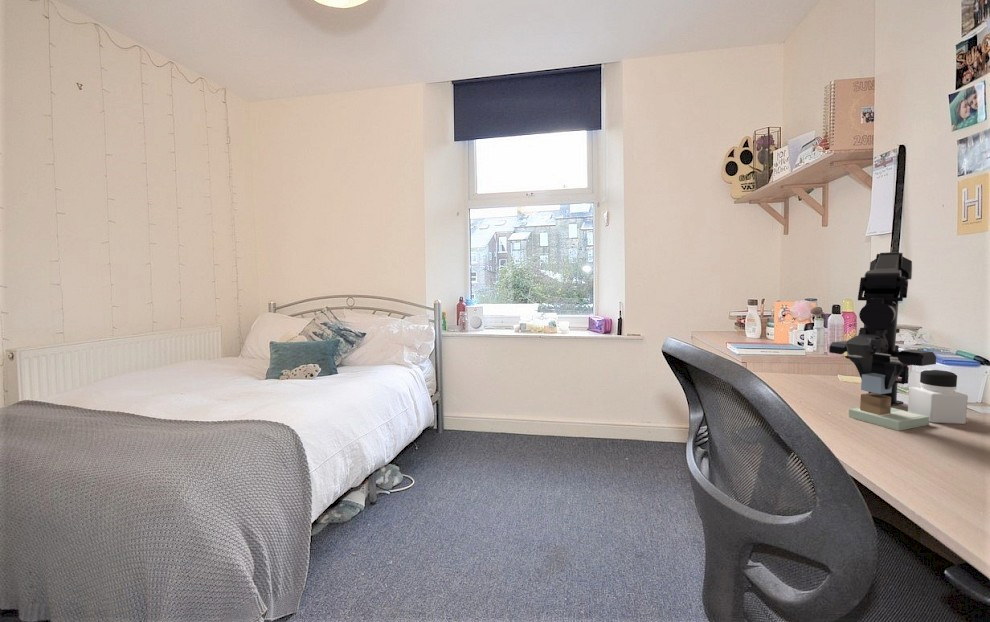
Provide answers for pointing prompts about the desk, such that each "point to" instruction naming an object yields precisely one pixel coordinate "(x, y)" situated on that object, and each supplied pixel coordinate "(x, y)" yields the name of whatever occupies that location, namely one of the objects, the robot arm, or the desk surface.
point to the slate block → (874, 383)
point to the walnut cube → (875, 403)
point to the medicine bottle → (938, 398)
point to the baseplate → (891, 418)
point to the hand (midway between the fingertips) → (876, 387)
